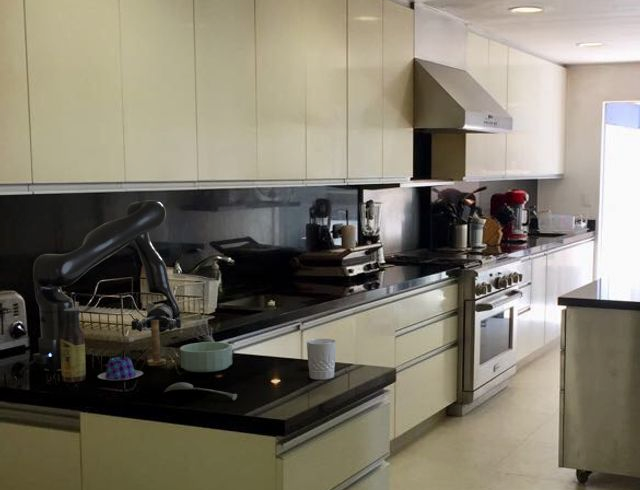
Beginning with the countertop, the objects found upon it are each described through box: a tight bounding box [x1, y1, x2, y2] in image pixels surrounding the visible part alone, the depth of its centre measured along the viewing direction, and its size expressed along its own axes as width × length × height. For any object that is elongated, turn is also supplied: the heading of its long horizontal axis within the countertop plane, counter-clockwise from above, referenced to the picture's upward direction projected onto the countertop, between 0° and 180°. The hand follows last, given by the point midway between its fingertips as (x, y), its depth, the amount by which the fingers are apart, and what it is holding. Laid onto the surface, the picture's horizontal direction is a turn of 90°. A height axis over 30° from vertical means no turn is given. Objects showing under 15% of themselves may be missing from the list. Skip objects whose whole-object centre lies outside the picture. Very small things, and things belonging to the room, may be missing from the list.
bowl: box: [179, 341, 234, 373], centre depth 268 cm, size 15×15×6 cm
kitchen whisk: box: [191, 320, 216, 343], centre depth 299 cm, size 6×34×6 cm, turn 22°
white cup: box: [306, 338, 337, 381], centre depth 254 cm, size 8×8×10 cm
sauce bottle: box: [60, 307, 87, 384], centre depth 252 cm, size 7×6×20 cm
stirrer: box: [147, 320, 167, 367], centre depth 273 cm, size 5×5×13 cm
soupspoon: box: [163, 381, 238, 401], centre depth 235 cm, size 22×3×7 cm
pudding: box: [97, 356, 144, 382], centre depth 257 cm, size 12×12×5 cm
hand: (155, 327), depth 272 cm, fingers open, 8 cm apart
